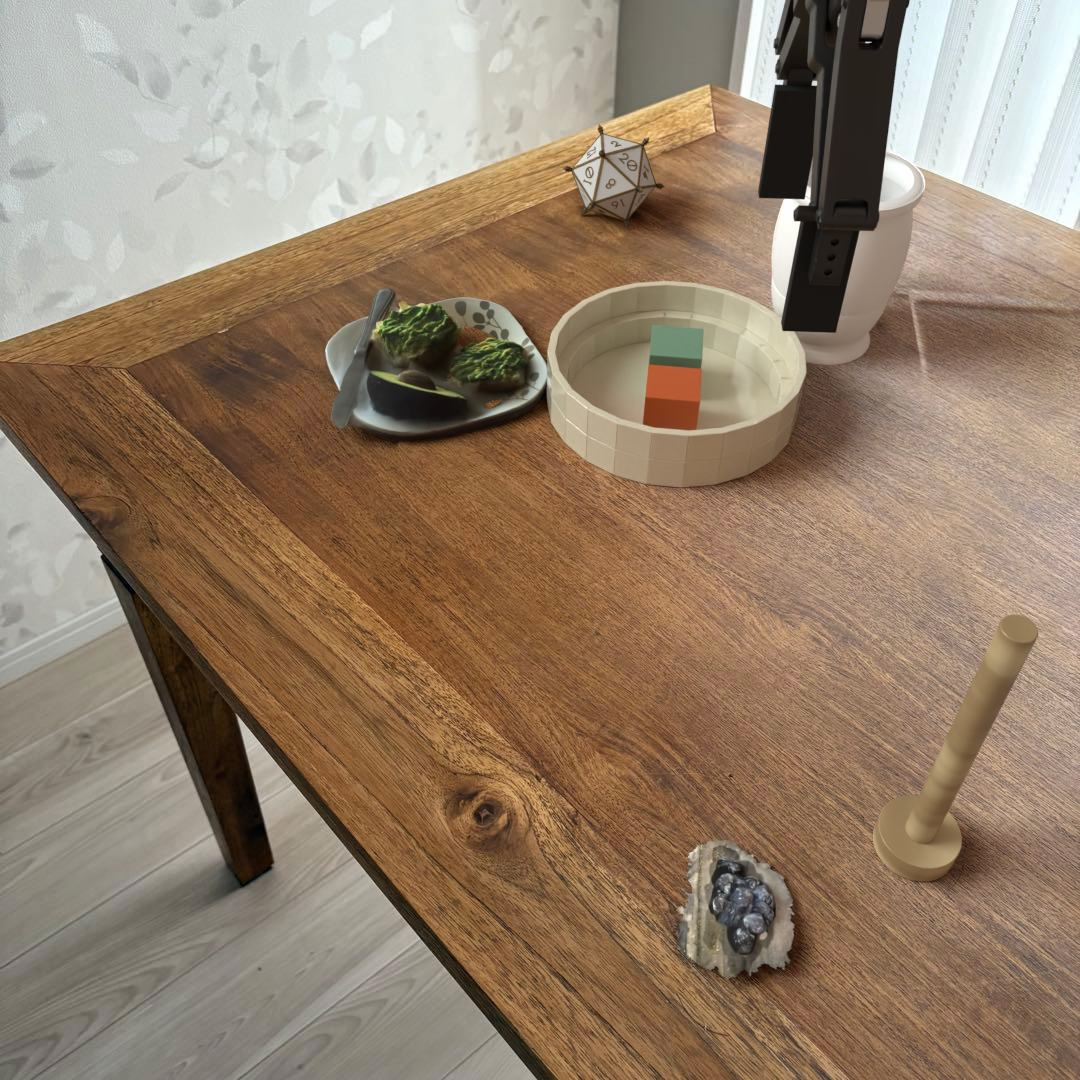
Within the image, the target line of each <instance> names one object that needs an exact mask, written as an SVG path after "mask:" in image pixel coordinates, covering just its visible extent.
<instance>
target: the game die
mask: <svg viewBox="0 0 1080 1080" xmlns="http://www.w3.org/2000/svg"><path fill="white" fill-rule="evenodd" d="M604 131H605V130H604V126H602V125H601V124H598V125H597V133H599V135H598V136H597V138H596V139H595V140H594V141H593V143H592V144H591V145H590V146H589V147H588V148H587V150H586V151H585V152H584V153H583V154H582V155H581V156H580V158H579V159H578V160H577V162H575V164H574V165H573V166H572V167H571V166H569V165H566V166H563V167H562V169H563V171H565V172H568V173H569V172H571V175H572V176H573V179H574V181H575V184H576V187H577V190H578V192H579V195H580V198H581V200H582V203H583V206H584V208H582V209H581V210H580V216H583V215H587V213H588V211H590V212H594V213H596V214H601V215H603V216H607V217H610V218H613V219H617V220H620V221H624V227H625V228H626V229H627V230H630V227H631V224H630V223H631V222H630V221H629V219H630V218H631V217H632V215H634V213H635V212H636V211H637V210H638V208H639V207H640V206H641V205H642V203H643V202H644V201H645V200H646V199H647V198H648V197H649V195H650V194H651V193H652V192H653V191H654V190H655V188H656V189H658V190H662V189H664V188H666V186H665V185H664V184H663V183H662V182H656V179H655V176H654V173H653V169H652V166H651V163H650V160H649V157H648V155H647V151H646V149H645V146H647V145H648V144H649V141H650V137H646V138H643V139H642V142H638V141H635V140H634V141H633V140H629V139H625V138H622V137H618V136H614V135H610V134H607V133H605V132H604Z"/></svg>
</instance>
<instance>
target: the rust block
mask: <svg viewBox="0 0 1080 1080" xmlns="http://www.w3.org/2000/svg"><path fill="white" fill-rule="evenodd" d="M701 375H702V369H698V368H686V367H674V366H661V365H648V374H647V384H646V394H645V404H644V415H643V425H647V426H650V427H654V428H666V429H677V430H696V429H697V422H698V415H699V408H700V397H701Z"/></svg>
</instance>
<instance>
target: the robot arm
mask: <svg viewBox="0 0 1080 1080" xmlns="http://www.w3.org/2000/svg"><path fill="white" fill-rule="evenodd" d="M910 2H911V0H784V4H783V9H782V11H781V17H780V21H779V23H778V28H777V32H776V37H775V38H774V39H773V45H772V46H773V49H774V55H775V56H778V58H777V60H776V63H775V65H774V74H776V80H777V81H782V84H774V89H773V94H772V101H771V105H770V106H771V107H770V115H769V120H768V127H767V134H766V138H765V139H766V140H765V144H764V151H763V158H762V162H761V163H762V165H761V169H760V171H761V172H760V177H759V183H758V188H757V195H758V198H759V199H775V200H776V199H777V200H778V199H779V200H784V199H805V195H806V190H807V185H808V179H809V174H810V169H811V164H812V179H811V196H810V203H809V205H808V206H803V205H798V207H796V209H795V210H794V211H793V217H794V221H800V226H799V232H798V237H797V242H796V247H795V252H794V258H793V263H792V268H791V273H790V278H789V284H788V289H787V294H786V299H785V305H784V310H783V315H782V320H781V325H782V331H795V332H825V333H836V330H837V325H838V321H839V317H840V313H841V309H842V304H843V300H844V296H845V292H846V287H847V283H848V279H849V275H850V270H851V266H852V262H853V258H854V253H855V249H856V245H857V241H858V236H859V232H860V231H874V230H875V228H876V227H877V223H878V221H879V204H880V196H881V188H882V180H883V171H884V163H885V155H886V150H887V147H888V138H889V129H890V121H891V114H892V106H893V98H894V91H895V90H894V88H895V80H896V74H897V72H896V71H897V64H898V57H899V48H900V45H901V44H900V42H901V38H902V33H903V29H904V24H905V19H906V13H907V9H908V8H909V5H910ZM813 82H816V85H813ZM812 159H813V162H812Z"/></svg>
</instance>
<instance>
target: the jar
mask: <svg viewBox="0 0 1080 1080" xmlns="http://www.w3.org/2000/svg"><path fill="white" fill-rule="evenodd" d="M812 162H813V159H812ZM811 179H812V164H811V169H810V174H809V179H808V185H807V190H806V195H805V199H782V200H783V201H782V203H781V206H780V209H779V212H778V215H777V219H776V222H775V226H774V231H773V237H772V245H771V257H770V260H771V261H770V262H771V283H770V284H771V285H770V286H771V289H770V290H771V301H772V307H773V310H774V311H773V312H774V313H775V314H777V315H778V316H779V317H780V318H781V319H782V315H783V310H784V305H785V299H786V294H787V289H788V284H789V278H790V273H791V268H792V263H793V258H794V252H795V247H796V242H797V237H798V232H799V226H800V221H794V217H793V211H794V210H795V209H796V207H798V205H803V206H808V205H809V203H810V196H811ZM925 188H926V179H925V176H924V174H923V173H922V171H921V170H920V169H919V168H918V166H917V165H915V164H914V163H913V162H912V161H910V160H909V159H908V158H906V157H903V156H902V155H900V154H898V153H895V152H893V151H890V150H887V149H886V155H885V163H884V171H883V180H882V188H881V196H880V204H879V221H878V223H877V227H876V228H875V230H874V231H860V232H859V236H858V241H857V245H856V249H855V253H854V258H853V262H852V266H851V270H850V275H849V279H848V283H847V287H846V292H845V296H844V300H843V304H842V309H841V313H840V317H839V321H838V325H837V330H836V333H825V332H795V331H794V332H795V333H796V335H797V337H798V339H799V341H800V343H801V345H802V347H803V349H804V351H805V354H806V363H808V364H815V365H825V366H831V365H842V364H847V363H850V362H852V361H855V360H857V359H859V358H860V357H862V356H863V355H864V354H865V353H866V352H867V350H868V349H869V347H870V343H871V335H870V332H871V330H872V329H873V328H875V326H876V324H877V322H879V320H880V318H881V317H882V315H883V313H884V312H885V310H886V307H887V305H888V303H889V301H890V298H891V296H892V295H893V292H894V290H895V288H896V286H897V284H898V282H899V279H900V277H901V274H902V272H903V269H904V267H905V263H906V260H907V257H908V253H909V249H910V244H911V239H912V231H913V222H914V209H915V208H917V206H918V205H919V203H920V202H921V200H922V199H923V196H924V193H925Z"/></svg>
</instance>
